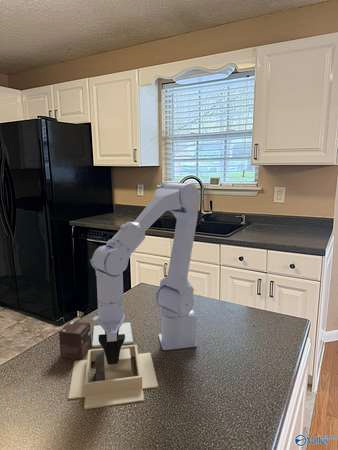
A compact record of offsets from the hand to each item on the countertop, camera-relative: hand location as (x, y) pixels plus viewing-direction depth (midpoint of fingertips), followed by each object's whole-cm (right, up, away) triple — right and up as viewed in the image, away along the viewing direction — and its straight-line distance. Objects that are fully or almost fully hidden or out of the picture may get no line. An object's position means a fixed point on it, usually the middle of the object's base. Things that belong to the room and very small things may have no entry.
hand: (112, 353), depth 74 cm
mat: (-3, -2, +18) cm, 19 cm away
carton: (0, -5, +1) cm, 5 cm away
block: (0, -5, +1) cm, 5 cm away
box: (-11, -4, +10) cm, 16 cm away
